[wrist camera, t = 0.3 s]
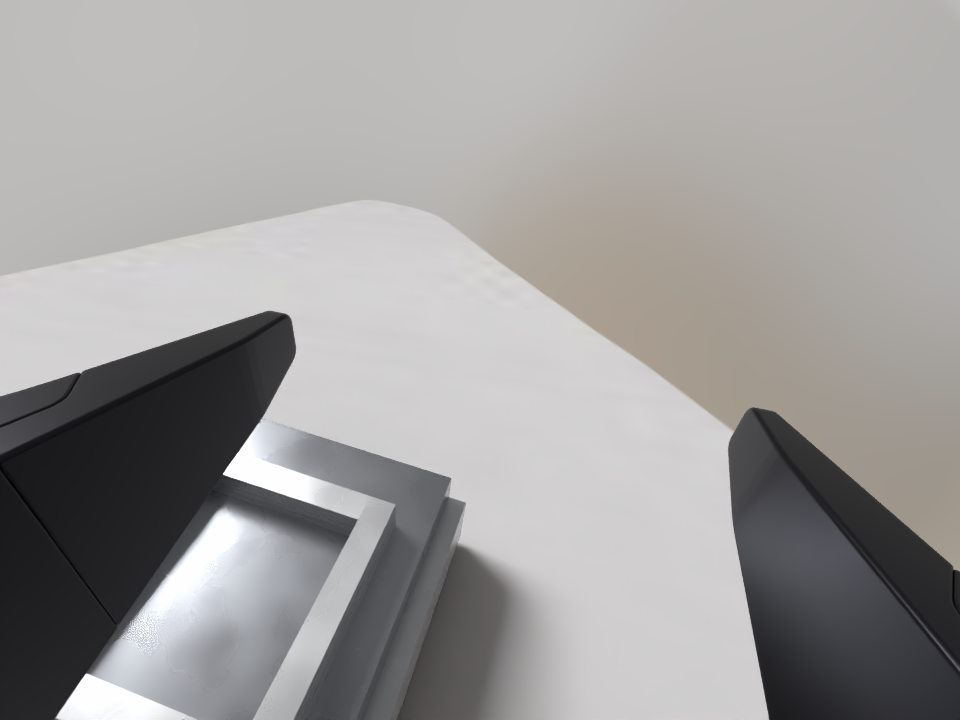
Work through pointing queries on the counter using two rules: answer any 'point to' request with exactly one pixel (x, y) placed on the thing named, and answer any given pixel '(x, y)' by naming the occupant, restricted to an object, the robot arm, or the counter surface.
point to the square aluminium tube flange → (285, 592)
